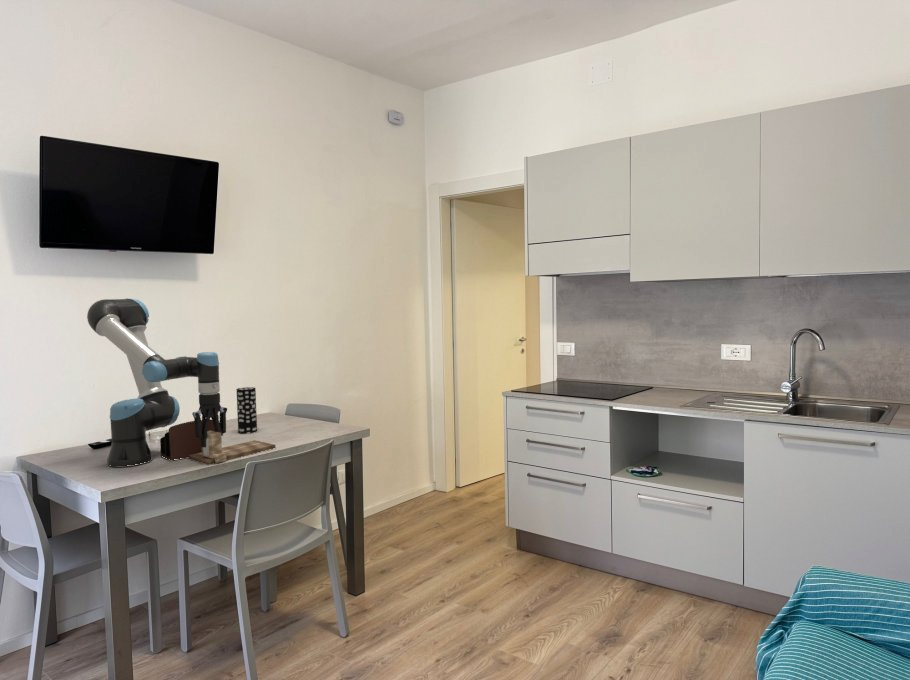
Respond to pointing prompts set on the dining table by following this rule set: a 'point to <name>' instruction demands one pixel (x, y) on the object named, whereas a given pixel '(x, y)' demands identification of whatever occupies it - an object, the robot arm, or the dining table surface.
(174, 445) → the letter holder
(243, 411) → the white-spotted black cylinder
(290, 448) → the dining table surface
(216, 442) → the gauge
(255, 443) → the board
